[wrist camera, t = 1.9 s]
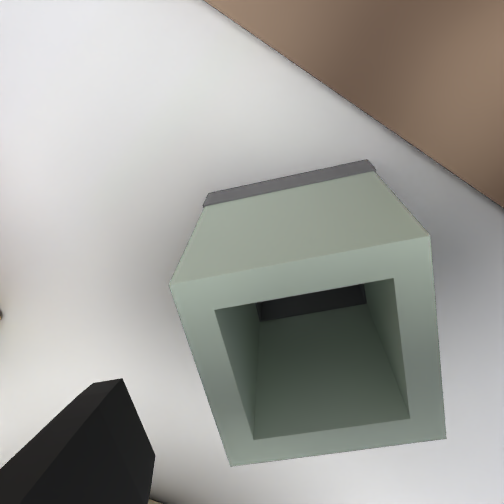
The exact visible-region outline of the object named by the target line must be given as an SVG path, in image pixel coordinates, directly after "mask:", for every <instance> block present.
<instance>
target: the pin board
mask: <svg viewBox="0 0 504 504" xmlns="http://www.w3.org/2000/svg"><path fill="white" fill-rule="evenodd" d="M204 1H205V2H207V3H208V4H210V5H211V6H213V7H214V8H215V9H217V10H218V11H220V12H221V13H223V14H224V15H226V16H227V17H228V18H230V19H231V20H233V21H234V22H236V23H237V24H239V25H240V26H241V27H243V28H244V29H246V30H247V31H249V32H250V33H251V34H253V35H254V36H256V37H257V38H259V39H260V40H262V41H263V42H264V43H266V44H267V45H269V46H270V47H272V48H273V49H275V50H276V51H277V52H279V53H280V54H282V55H283V56H285V57H286V58H288V59H289V60H290V61H292V62H293V63H295V64H296V65H298V66H299V67H300V68H302V69H303V70H305V71H306V72H308V73H309V74H311V75H312V76H313V77H315V78H316V79H318V80H319V81H321V82H322V83H324V84H325V85H326V86H328V87H329V88H331V89H332V90H334V91H335V92H337V93H338V94H339V95H341V96H342V97H344V98H345V99H347V100H348V101H350V102H351V103H352V104H354V105H355V106H357V107H358V108H360V109H361V110H362V111H364V112H365V113H367V114H368V115H370V116H371V117H373V118H374V119H375V120H377V121H378V122H380V123H381V124H383V125H384V126H386V127H387V128H388V129H390V130H391V131H393V132H394V133H396V134H397V135H399V136H400V137H401V138H403V139H404V140H406V141H407V142H409V143H410V144H411V145H413V146H414V147H416V148H417V149H419V150H420V151H422V152H423V153H424V154H426V155H427V156H429V157H430V158H432V159H433V160H435V161H436V162H437V163H439V164H440V165H442V166H443V167H445V168H446V169H448V170H449V171H450V172H452V173H453V174H455V175H456V176H458V177H459V178H460V179H462V180H463V181H465V182H466V183H468V184H469V185H471V186H472V187H473V188H475V189H476V190H478V191H479V192H481V193H482V194H484V195H485V196H486V197H488V198H489V199H491V200H492V201H494V202H495V203H497V204H498V205H499V206H501V207H502V208H504V0H204Z"/></svg>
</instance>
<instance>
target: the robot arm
mask: <svg viewBox="0 0 504 504" xmlns="http://www.w3.org/2000/svg"><path fill="white" fill-rule="evenodd" d="M154 461H155V453H154V451H153V449H152V446H151V444H150V442H149V439H148V437H147V435H146V432H145V430H144V428H143V425H142V423H141V421H140V418H139V416H138V414H137V411H136V409H135V407H134V404H133V402H132V400H131V397H130V395H129V393H128V390H127V388H126V386H125V383H124V381H123V379H116V380H109V381H103V382H97V383H93V384H92V385H90V386H89V387H88V388H87V389H85V390H84V391H83V392H82V393H81V394H80V395H78V396H77V397H76V398H75V399H74V400H73V401H72V402H71V403H70V404H69V405H67V406H66V407H65V408H64V409H63V410H62V411H61V412H60V413H59V414H58V415H57V416H56V417H55V418H54V419H53V420H52V421H50V422H49V423H48V424H47V425H46V426H45V427H44V428H43V429H42V430H41V431H40V432H39V433H38V434H37V435H36V436H35V437H34V438H33V439H32V440H31V441H29V442H28V443H27V444H26V445H25V446H24V447H23V448H22V449H21V450H20V451H19V452H18V453H17V454H16V455H15V456H14V457H13V458H11V459H10V460H9V461H8V462H7V463H6V464H5V465H4V466H3V467H2V468H1V469H0V504H148V501H149V495H150V489H151V483H152V476H153V468H154Z"/></svg>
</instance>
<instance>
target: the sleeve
mask: <svg viewBox="0 0 504 504" xmlns="http://www.w3.org/2000/svg"><path fill="white" fill-rule="evenodd" d="M203 208H204V209H203V212H202V214H201V216H200V218H199V220H198V222H197V225H196V227H195V229H194V231H193V233H192V235H191V238H190V240H189V242H188V244H187V246H186V248H185V251H184V253H183V255H182V257H181V259H180V261H179V264H178V266H177V268H176V270H175V272H174V274H173V277H172V279H171V281H170V283H169V287H170V290H171V293H172V296H173V299H174V302H175V305H176V308H177V311H178V314H179V317H180V320H181V322H182V325H183V328H184V331H185V334H186V337H187V340H188V343H189V346H190V349H191V352H192V355H193V358H194V361H195V364H196V367H197V369H198V372H199V375H200V378H201V381H202V384H203V387H204V390H205V393H206V396H207V399H208V402H209V405H210V408H211V411H212V413H213V416H214V419H215V422H216V425H217V428H218V431H219V434H220V437H221V440H222V443H223V446H224V449H225V452H226V455H227V458H228V460H229V463H230V466H231V467H232V466H240V465H248V464H255V463H263V462H271V461H279V460H286V459H294V458H302V457H309V456H317V455H325V454H333V453H340V452H348V451H356V450H363V449H371V448H379V447H387V446H394V445H402V444H410V443H417V442H425V441H433V440H441V439H446V428H445V415H444V402H443V390H442V377H441V364H440V352H439V339H438V326H437V314H436V301H435V289H434V276H433V263H432V251H431V238H430V235H429V234H428V232H427V231H426V230H425V229H424V228H423V227H422V225H421V224H420V223H419V222H418V221H417V220H416V219H415V217H414V216H413V215H412V214H411V213H410V212H409V211H408V209H407V208H406V207H405V206H404V205H403V204H402V203H401V201H400V200H399V199H398V198H397V197H396V196H395V195H394V193H393V192H392V191H391V190H390V189H389V188H388V187H387V185H386V184H385V183H384V182H383V181H382V180H381V179H380V177H379V176H378V175H377V174H376V169H375V168H374V167H373V165H372V164H371V163H370V162H369V161H368V160H362V161H358V162H353V163H348V164H344V165H339V166H334V167H330V168H325V169H320V170H316V171H311V172H306V173H301V174H297V175H292V176H287V177H283V178H278V179H273V180H269V181H264V182H259V183H255V184H250V185H245V186H241V187H236V188H231V189H227V190H222V191H217V192H213V193H208V195H207V197H206V199H205V202H204V204H203ZM357 284H358V285H357ZM346 286H347V287H346ZM340 287H341V288H340ZM329 289H330V290H329ZM323 290H324V291H323ZM318 291H319V292H318ZM312 292H313V293H312ZM301 294H302V295H301ZM295 295H296V296H295ZM284 297H285V298H284ZM278 298H279V299H278ZM273 299H274V300H273ZM267 300H268V301H267Z"/></svg>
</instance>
